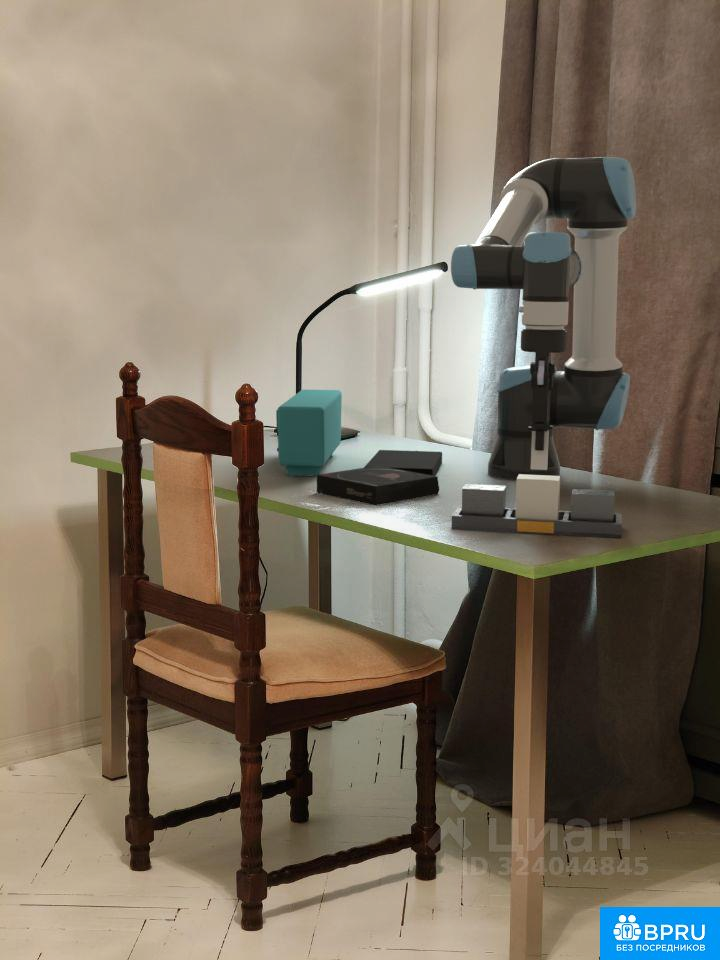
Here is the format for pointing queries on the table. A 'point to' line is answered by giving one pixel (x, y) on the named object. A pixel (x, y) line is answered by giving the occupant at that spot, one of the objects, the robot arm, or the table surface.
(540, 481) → the beige rectangular block
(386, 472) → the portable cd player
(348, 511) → the table surface
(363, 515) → the table surface
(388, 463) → the external hard drive
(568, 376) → the robot arm
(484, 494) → the rack
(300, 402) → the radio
